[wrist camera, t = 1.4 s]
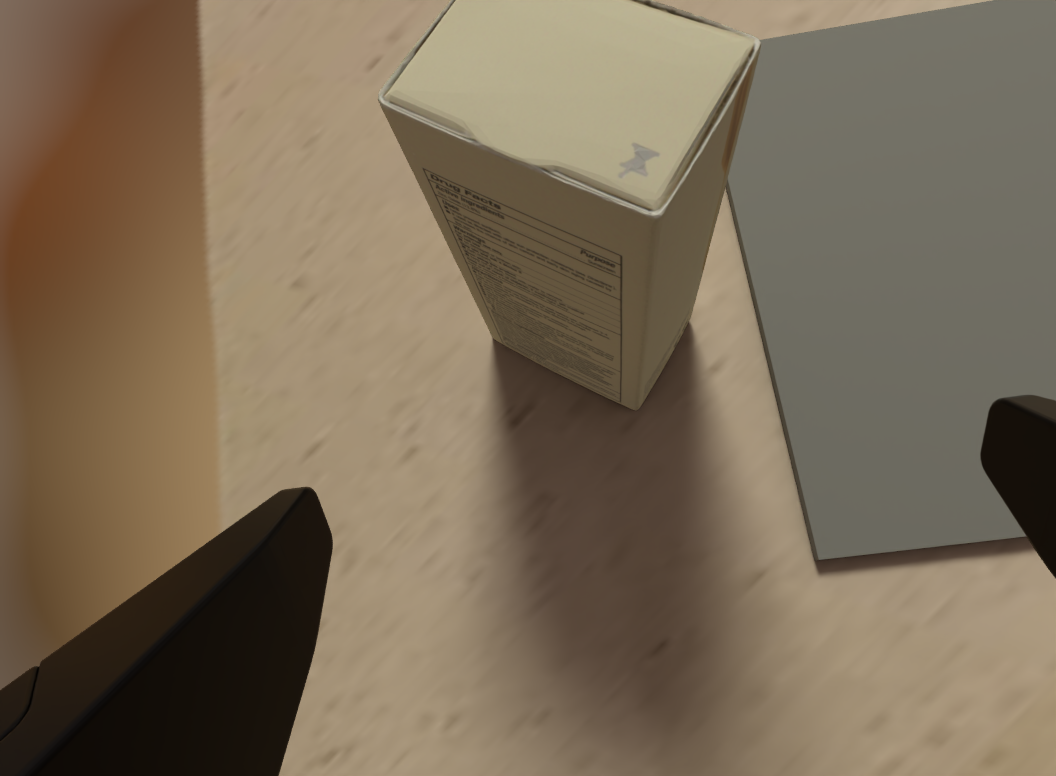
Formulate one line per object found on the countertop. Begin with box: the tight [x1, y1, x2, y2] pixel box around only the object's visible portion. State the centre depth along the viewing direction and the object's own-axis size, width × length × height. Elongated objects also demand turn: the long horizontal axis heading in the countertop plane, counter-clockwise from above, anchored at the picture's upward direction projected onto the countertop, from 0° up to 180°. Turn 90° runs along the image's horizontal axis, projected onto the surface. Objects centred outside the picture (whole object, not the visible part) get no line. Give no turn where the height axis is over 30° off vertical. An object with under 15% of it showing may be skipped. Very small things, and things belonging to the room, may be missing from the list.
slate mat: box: [726, 0, 1056, 560], centre depth 23 cm, size 20×14×1 cm
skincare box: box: [378, 0, 761, 410], centre depth 18 cm, size 6×4×12 cm
